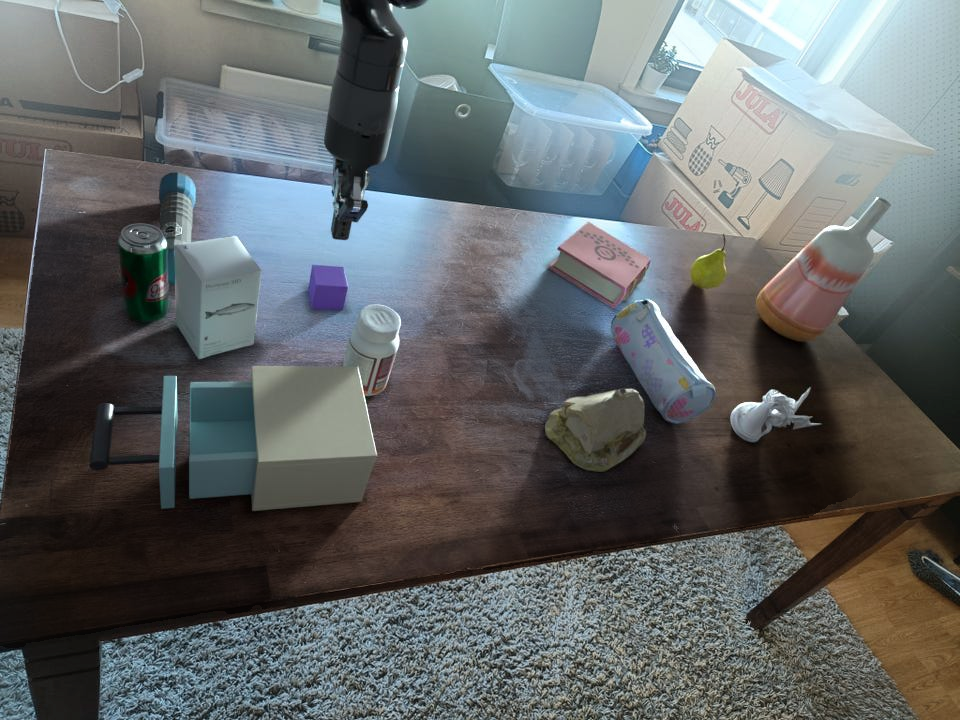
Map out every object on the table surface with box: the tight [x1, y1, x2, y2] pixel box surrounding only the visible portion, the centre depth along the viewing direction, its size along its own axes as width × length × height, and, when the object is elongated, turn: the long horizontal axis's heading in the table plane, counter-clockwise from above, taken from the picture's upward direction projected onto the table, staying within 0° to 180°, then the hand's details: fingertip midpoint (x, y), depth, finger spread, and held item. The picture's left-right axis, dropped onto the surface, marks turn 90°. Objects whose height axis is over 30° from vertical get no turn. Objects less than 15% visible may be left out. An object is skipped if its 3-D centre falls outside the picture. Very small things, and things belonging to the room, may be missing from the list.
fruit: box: [689, 233, 727, 290], centre depth 127 cm, size 7×7×12 cm
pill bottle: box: [342, 303, 402, 397], centre depth 80 cm, size 6×6×11 cm
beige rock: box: [544, 387, 647, 473], centre depth 86 cm, size 14×11×10 cm
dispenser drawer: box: [89, 375, 257, 510], centre depth 64 cm, size 16×11×7 cm
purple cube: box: [308, 264, 349, 311], centre depth 91 cm, size 4×4×4 cm
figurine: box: [729, 386, 821, 443], centre depth 96 cm, size 11×8×12 cm
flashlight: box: [158, 171, 197, 286], centre depth 89 cm, size 5×22×5 cm, turn 17°
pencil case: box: [609, 298, 717, 425], centre depth 100 cm, size 21×9×10 cm, turn 16°
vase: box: [755, 196, 892, 343], centre depth 120 cm, size 14×14×30 cm
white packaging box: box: [174, 235, 262, 360], centre depth 77 cm, size 7×7×13 cm
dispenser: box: [249, 365, 378, 512], centre depth 69 cm, size 12×13×9 cm
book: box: [547, 221, 652, 310], centre depth 119 cm, size 14×15×5 cm
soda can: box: [117, 222, 170, 323], centre depth 76 cm, size 5×5×12 cm
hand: (339, 236), depth 85 cm, fingers closed
